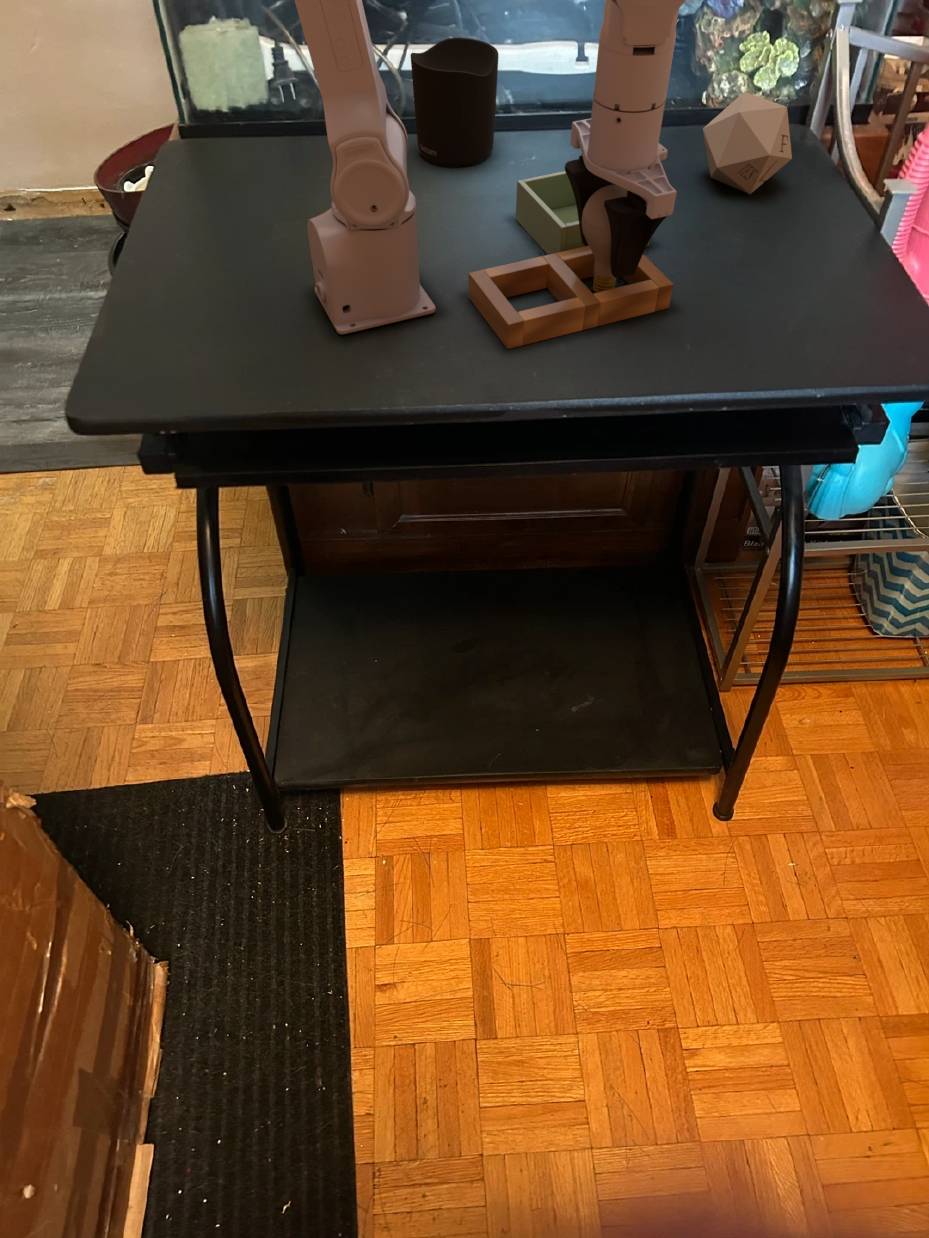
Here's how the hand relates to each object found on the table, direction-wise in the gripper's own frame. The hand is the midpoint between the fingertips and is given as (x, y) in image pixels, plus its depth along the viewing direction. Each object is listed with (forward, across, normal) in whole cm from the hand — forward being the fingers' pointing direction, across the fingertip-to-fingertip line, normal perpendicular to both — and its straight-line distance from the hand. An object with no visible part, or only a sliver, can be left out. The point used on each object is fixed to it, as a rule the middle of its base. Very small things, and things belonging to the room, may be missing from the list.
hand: (608, 258), depth 81 cm
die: (+4, +14, -24) cm, 28 cm away
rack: (+4, 0, +4) cm, 5 cm away
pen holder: (+4, +33, +2) cm, 33 cm away
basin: (+4, +11, -3) cm, 12 cm away
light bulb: (+4, 0, 0) cm, 4 cm away
